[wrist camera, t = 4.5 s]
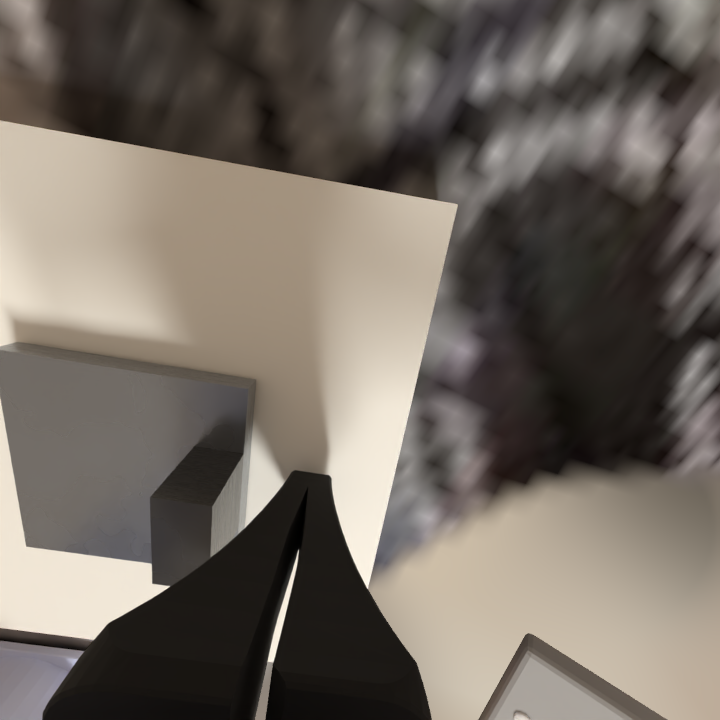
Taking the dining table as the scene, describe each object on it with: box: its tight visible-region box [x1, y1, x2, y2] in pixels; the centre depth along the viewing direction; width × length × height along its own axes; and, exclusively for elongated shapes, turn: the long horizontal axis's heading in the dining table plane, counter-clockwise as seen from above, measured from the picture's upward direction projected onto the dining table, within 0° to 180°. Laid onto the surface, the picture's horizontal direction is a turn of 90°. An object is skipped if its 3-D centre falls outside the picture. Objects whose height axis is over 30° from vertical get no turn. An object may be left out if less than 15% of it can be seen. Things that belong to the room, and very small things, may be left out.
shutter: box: [0, 342, 256, 586], centre depth 11 cm, size 8×8×3 cm
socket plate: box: [0, 121, 458, 662], centre depth 13 cm, size 20×18×2 cm
